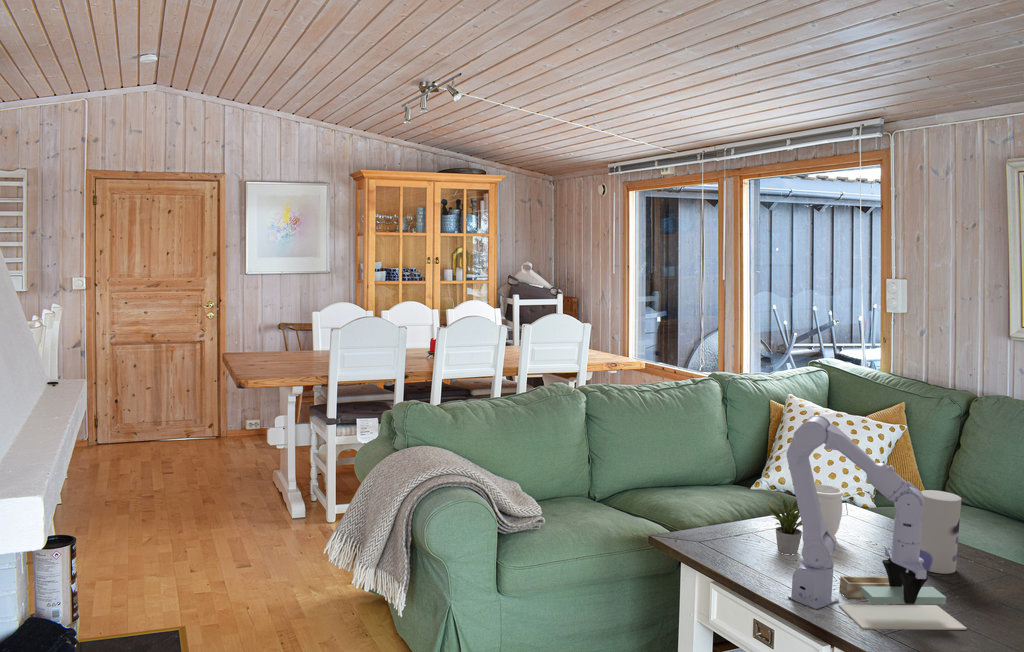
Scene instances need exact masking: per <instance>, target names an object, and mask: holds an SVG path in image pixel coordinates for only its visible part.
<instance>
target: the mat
mask: <svg viewBox="0 0 1024 652" xmlns="http://www.w3.org/2000/svg"><path fill="white" fill-rule="evenodd" d="M838 607H839V608H840V609H841V610H842V611H843V612H844V613H845V614H846V615H847V616H848V617H849V618H850V619H852V621H854V623H856V625H858V626H859V628H861V630H926V631H927V630H929V631H930V630H931V631H932V630H933V631H934V630H939V631H940V630H942V631H944V630H945V631H946V630H947V631H950V630H951V631H952V630H953V631H954V630H955V631H958V630H962V631H963V630H966V631H967V629H968V627H966V626H964V624H962V623H961V622H960V621H958V620H957V619H956V618H954V617H953V616H952V615H951V614H949V613H948V612H946V611H945V610H943V608H941V607H940V606H938V604H841V603H840V604H838Z"/></svg>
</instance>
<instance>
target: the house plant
mask: <svg viewBox="0 0 1024 652" xmlns="http://www.w3.org/2000/svg"><path fill="white" fill-rule="evenodd" d="M776 496H777V497H779V500H780V501H781V503H782V505H783V509H782V508H781V507H780V506H779V505H778V504H777V503H776V502H775V501H773V500H772V499H770V498H768V500H769V501H771V502H772V503H773V504H774V506H775V507H776V508H777V509H776V508H774V507H773V506H772V505H771V504H769V503H767V504H766V505H767V506H768V508H769V509H770V511H771V512H772V513H770V514H768V516H771V518H772V519H776V520H778V521H779V522H776V523H775V525H774V526H776V525H779V526H777V527H776V528H775V536H776V545H777V546H776V547H777V552H778V551H779V552H780V553H779V552H778V553H779V554H781V553H783V554H782V555H784V554H789V555H788V556H793V555H792V554H797V555H798V552H799V548H800V545H801V544H800V543H801V540H802V532H803V530H801V529H799V527H801V526H802V521H801V520H800V521H798V520H799V519H801V517H800V512H799V508H798V504H797V499H796V498H795V500H794V502H792V499H791V498H790V496H789V498H788V499H789V506H788V503H787V501H786V500H785V499H784V497H782V496H780V495H779V494H776ZM792 503H793V504H792Z"/></svg>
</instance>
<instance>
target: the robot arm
mask: <svg viewBox="0 0 1024 652" xmlns="http://www.w3.org/2000/svg"><path fill="white" fill-rule="evenodd" d="M823 444H825V445H824V447H823V449H826V450H832V451H837V452H839V453H841V454H842V456H845V457H846V458H847V459H848V460H849V461H850V462H852V463H853V464H854V465H855V466H857V467H858V468H859V469H861V470H862V471H863V473H865V475H866V481H867V483H869V484H870V485H871V486H872V487H873V488H875V490H877V491H878V492H880V494H881V495H882V496H884V497H885V499H887V500H888V501H890V502H893V504H894V509H895V517H894V519H893V535H892V546H891V547H888V546H887V547H885V548H884V556H886V557H888V558H887V559H882V562H881V563H882V564H883V567H884V569H885V571H886V575H887V577H888V580H889V585H890V587H902V585H903V592H904V602H905V603H906V604H905V605H916V604H915V601H916V599H917V596H918V593H919V591H920V589H921V587H924V585H925V583H926V582H927V581H928V579H929V578H928V575H927V573H928V571H926V570H925V569H924V568H923V566H922V564H921V563H924V560H923V559H922V558H920V557H919V556H920V542H921V529H922V522H921V519H922V514H921V512H922V511H923V503H924V497H923V494H922V493H921V490H920V488H919V487H918V486H916V485H913V483H911V481H909V480H908V481H906V480H905V479H904V478H903V477H901V476H900V475H899V474H898V473H897V472H896V471H895V470H896V468H895V467H894V466H893V465H891V464H890V465H887V464H886V463H885V462H876V461H874V460H873V459H872V458H871V457H870V456H869V455H868V454H867V453H866V452H865V451H864V450H863V449H862V448H861V447H860V446H858V445H857V444H856V443H855V442H854V441H853V440H852V439H851V437H849V436H848V435H847V434H846V433H844V431H842V430H841V429H840V428H839V427H838V426H837V425H836V424H834V423H830V421H829V419H827V418H826V417H824V416H823V415H819V414H817V415H816V414H815V415H812V416H810V417H808V418H807V419H806V420H805V421H804V422H803V423H802V424H800V426H799V427H798V428H797V429H796V430H795V431H794V432H793V436H792V439H791V441H790V444H789V446H788V448H787V451H786V453H785V454H786V459H787V464H788V469H789V472H790V477H791V481H792V486H793V489H794V494H795V500H796V499H797V509H799V512H800V514H799V515H800V521H802V525H801V526H802V536H801V539H802V542H803V544H802V545H803V546H802V548H801V549H802V550H801V554H802V558H801V563H800V565H799V566H798V568H796V569H795V570H794V571H793V573H792V581H791V583H792V584H791V594H789V595H788V596H787V597H788V599H790V598H791V599H790V600H792V599H793V600H792V601H795V602H798V603H800V604H802V605H804V606H807V607H809V608H812V609H814V610H819V609H821V608H824V607H826V606H828V605H832V604H833V603H836V602H839V601H840V598H839V597H836V596H834V595H832V594H833V582H834V581H833V580H834V564H835V563H834V561H833V560H832V557H831V555H832V554H833V552H834V551H835V550H836V543H835V542H836V541H835V542H834V539H833V538H832V536H831V535H830V534H829V532H828V530H827V526H826V524H825V523H824V521H823V517H822V513H821V508H820V504H819V500H818V495H817V491H816V487H815V485H816V484H815V483H816V482H815V479H814V474H813V471H812V465H811V461H810V456H811V455H812V454H813V452H814V451H815V450H817V449H818V448H819V447H821V446H822V445H823ZM907 571H908V572H907Z"/></svg>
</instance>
